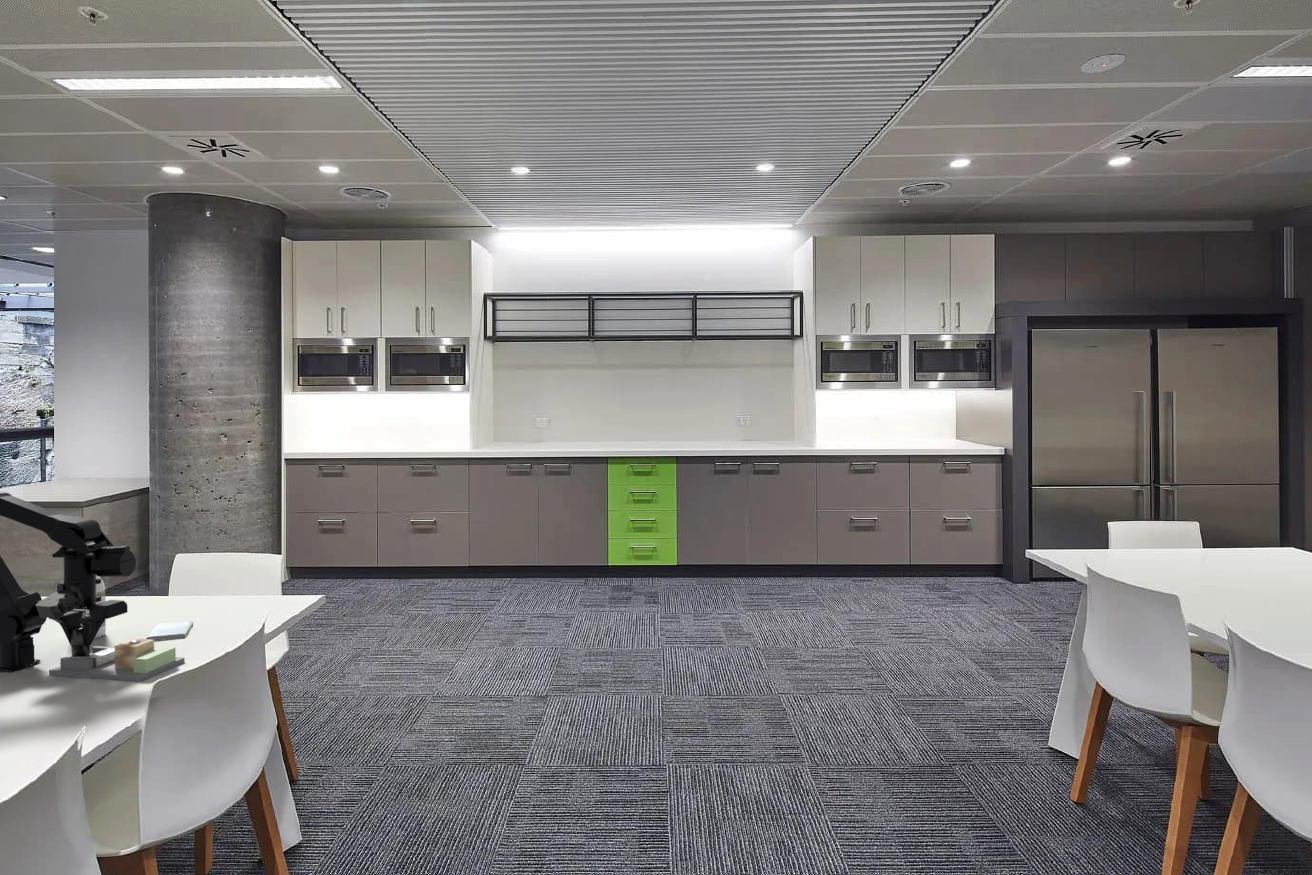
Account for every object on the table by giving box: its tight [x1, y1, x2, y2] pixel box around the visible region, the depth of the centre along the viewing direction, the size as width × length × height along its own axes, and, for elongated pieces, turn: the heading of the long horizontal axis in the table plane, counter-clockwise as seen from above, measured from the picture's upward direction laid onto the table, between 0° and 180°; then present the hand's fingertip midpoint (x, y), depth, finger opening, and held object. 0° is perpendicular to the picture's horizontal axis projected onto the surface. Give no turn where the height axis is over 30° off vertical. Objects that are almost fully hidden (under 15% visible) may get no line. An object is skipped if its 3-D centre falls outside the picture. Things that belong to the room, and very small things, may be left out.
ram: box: [69, 626, 115, 667], centre depth 161 cm, size 9×6×7 cm
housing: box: [114, 638, 155, 669], centre depth 160 cm, size 5×5×5 cm
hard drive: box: [145, 620, 194, 641], centre depth 186 cm, size 2×8×12 cm
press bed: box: [48, 645, 185, 682], centre depth 160 cm, size 22×12×4 cm, turn 83°
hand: (80, 645), depth 161 cm, fingers closed on ram, 3 cm apart
